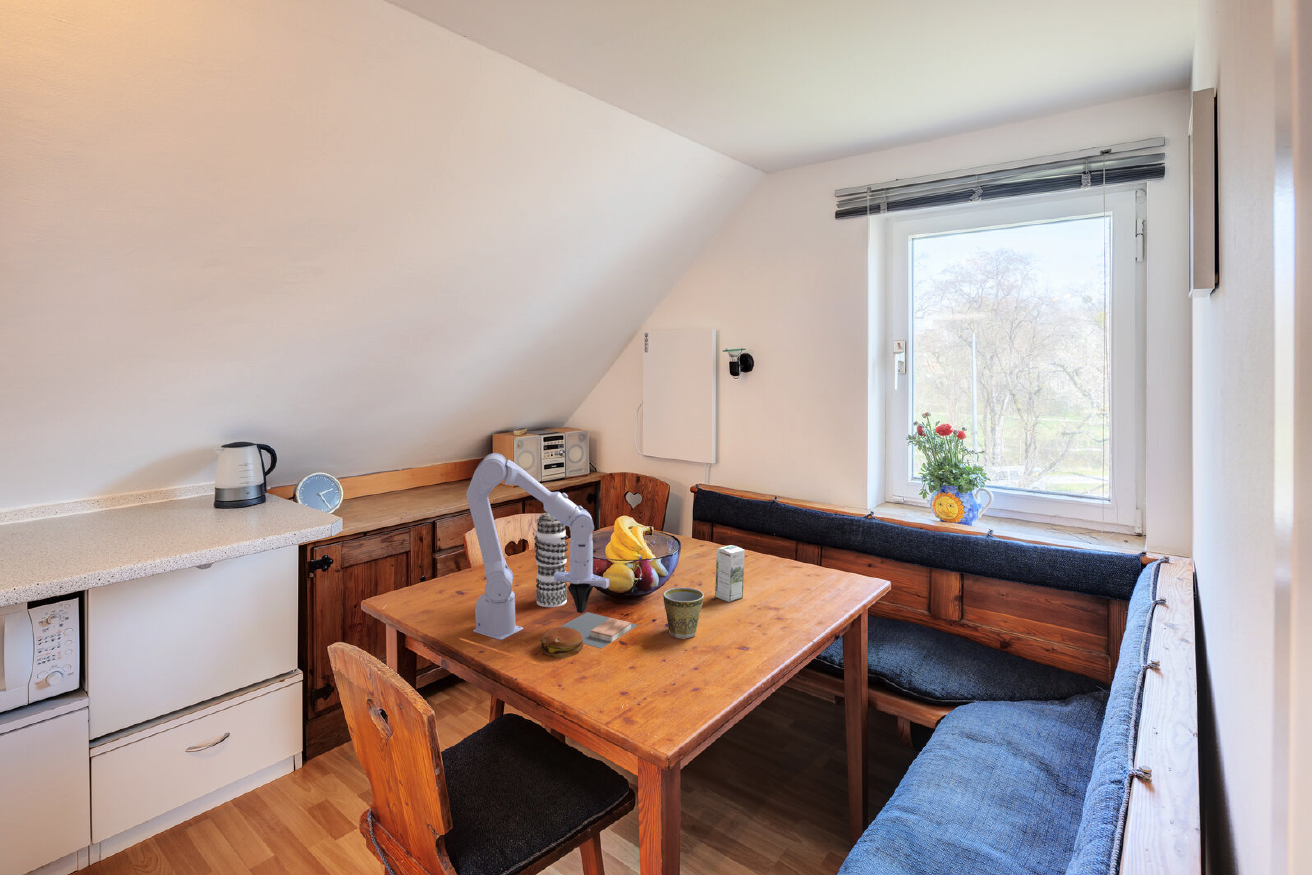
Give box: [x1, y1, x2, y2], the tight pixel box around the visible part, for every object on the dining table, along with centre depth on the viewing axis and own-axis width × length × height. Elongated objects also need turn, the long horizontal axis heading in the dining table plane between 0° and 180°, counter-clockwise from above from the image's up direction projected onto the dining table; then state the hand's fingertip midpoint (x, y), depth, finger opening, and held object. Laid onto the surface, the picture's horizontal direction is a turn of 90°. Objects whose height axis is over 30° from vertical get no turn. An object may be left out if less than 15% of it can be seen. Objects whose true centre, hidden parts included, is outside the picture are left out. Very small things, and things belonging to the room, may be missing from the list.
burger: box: [539, 626, 585, 659], centre depth 155 cm, size 10×9×5 cm
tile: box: [591, 617, 632, 643], centre depth 164 cm, size 9×2×6 cm
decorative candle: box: [534, 512, 569, 608], centre depth 183 cm, size 9×9×25 cm
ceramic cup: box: [662, 587, 705, 640], centre depth 166 cm, size 13×10×10 cm
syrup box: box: [714, 544, 746, 603], centre depth 189 cm, size 6×6×14 cm
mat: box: [560, 611, 639, 649], centre depth 167 cm, size 16×16×1 cm
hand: (581, 611), depth 168 cm, fingers closed
